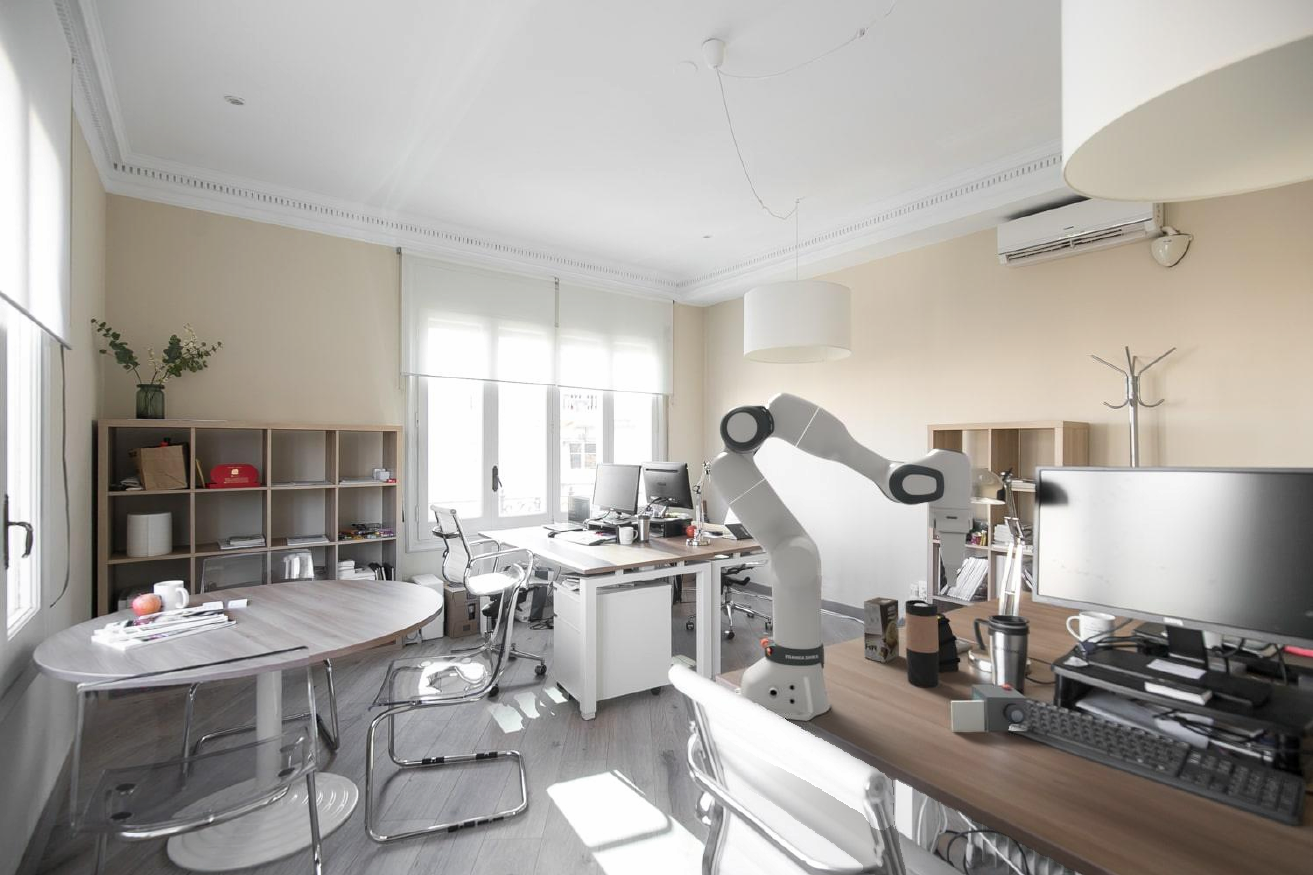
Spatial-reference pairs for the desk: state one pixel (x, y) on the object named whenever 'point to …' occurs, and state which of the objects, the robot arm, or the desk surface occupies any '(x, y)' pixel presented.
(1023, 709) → the camera block
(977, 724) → the side door
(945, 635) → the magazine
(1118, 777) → the desk surface
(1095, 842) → the desk surface
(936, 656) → the travel mug
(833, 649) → the desk surface
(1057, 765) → the desk surface
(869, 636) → the coffee box
